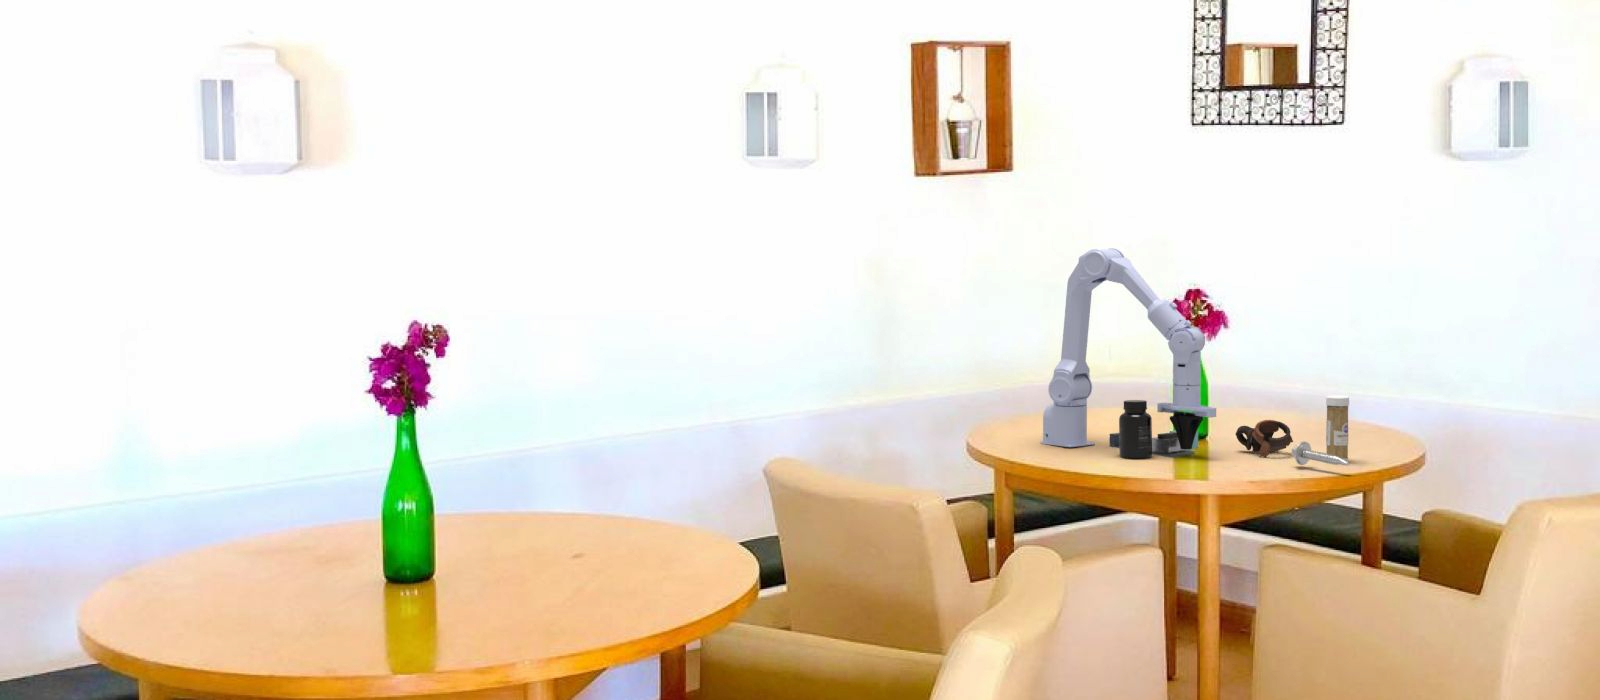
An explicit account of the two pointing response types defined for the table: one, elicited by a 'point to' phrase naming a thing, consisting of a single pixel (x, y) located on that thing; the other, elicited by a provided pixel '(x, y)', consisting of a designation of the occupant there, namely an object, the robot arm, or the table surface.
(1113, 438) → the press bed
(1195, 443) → the teal block
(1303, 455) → the screw
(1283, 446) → the brown looped part
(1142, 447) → the supplement bottle
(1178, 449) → the grey stepped block
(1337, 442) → the sprinkles bottle
